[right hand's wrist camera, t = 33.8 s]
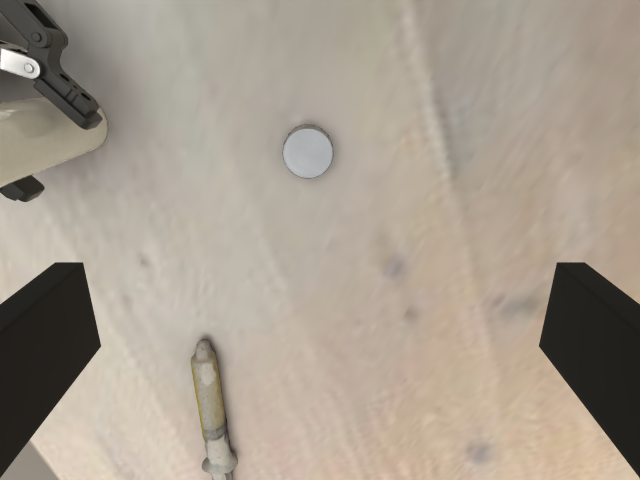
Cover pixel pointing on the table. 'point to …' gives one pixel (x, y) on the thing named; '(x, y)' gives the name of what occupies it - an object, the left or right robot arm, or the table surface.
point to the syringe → (212, 413)
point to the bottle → (41, 138)
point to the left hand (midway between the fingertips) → (63, 160)
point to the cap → (307, 151)
